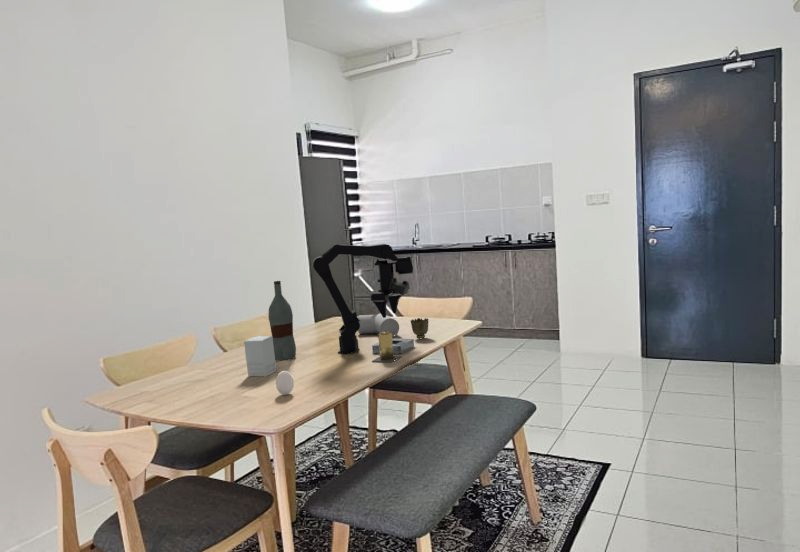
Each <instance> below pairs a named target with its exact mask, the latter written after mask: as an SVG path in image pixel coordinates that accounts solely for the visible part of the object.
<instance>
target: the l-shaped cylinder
mask: <svg viewBox="0 0 800 552" xmlns="http://www.w3.org/2000/svg"><path fill="white" fill-rule="evenodd" d="M357 317H358V318H359V320H360V321H359V323H360V328H359V330H358V331H357V332H358V334H360V335H368V334H369V335H370V334H371V335H372V334H373V333H377V334H380V332H384V331H389V333H392V336H394V335H396V336H397V335H398V333H399V330H400V323H399V322H398V321H397V320H396V319H395V318H393V317H390V316H389V315H387V314H386V318H383V317H382V315H381V313H380V312H379V313H378V314H363V315H361V314H359V315H357ZM394 337H395V336H394Z"/></svg>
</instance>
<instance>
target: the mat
mask: <svg viewBox="0 0 800 552" xmlns="http://www.w3.org/2000/svg"><path fill="white" fill-rule="evenodd" d="M393 356H394V358H393V359H391V360H381V359H380V356H378V357H376V358H375V359H372V360H371V363H384V362H393V361H394V360H396V359H398V358H399V359H401V358H403V357H402V355H393ZM400 357H401V358H400ZM399 359H398V360H399ZM396 361H397V360H396ZM394 362H395V361H394ZM394 362H393V363H394Z"/></svg>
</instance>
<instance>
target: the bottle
mask: <svg viewBox="0 0 800 552" xmlns="http://www.w3.org/2000/svg"><path fill="white" fill-rule="evenodd" d="M273 287H274V289H273V290H274V297H273V299H272V301H271V303H270V305H269V307H268V314H267V315H268V322H269V326H270V332H271V336H272V337H273V346H274V354H275V362H287V361H291V360H294V359H295V358H296V356H297V346H296V341H295V338H294V327H293V326H294V320H293V318H294V316H293V315H294V314H293V310H292V307H291V305H290V303H289V302H288V301H287V299H286V298H285V296H284V295H283V293H282V283H281V280H274V281H273Z"/></svg>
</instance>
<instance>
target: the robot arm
mask: <svg viewBox="0 0 800 552" xmlns="http://www.w3.org/2000/svg"><path fill="white" fill-rule="evenodd" d="M339 255H350V256H351V255H353V256H354V255H355V256H369V257H374V258H377V259H376V260H375V261H374V262H373V263H372V265H373V266H378V277H379V278H378V279H377V283H379V289H378V291H377V292H373V293H371V294H370V301H371V302H372V303H374V305H375V306H376V308H377V310H378V311H379V314H380V313H381V315H382V317H383V318H386V315H387V304H388V303H389V306H390V309H391V311H392V314H397V310H398V306H399V301H400V299H402V297H403V296H404V295H407V294H408V291H409V290H410V289H411V288H410V283H409V281H408V280H403V281H400V282H399V281H398V280H397V277H395V273H396V274H397V276H399V275H400V276H401V275H410V274H413V272H414V265H413V262H412V257H411V256H405V257H397V255H395V253H394V251H393V247H392V246H391V245H390V244H386V243H380V244H379V243H378V244H372V245H371V244H370V245H356V244H355V245H351V244H339V243H335V244H333V245H332V246H331V247H330V248H329V249H328V250H326V251H325V252H324V253H323V254H322V255H320V256H315V258H314V259H313V261H312V267H313V269H314V271H315V272H316V273H317V274H318V276H319V277H320V278H321V280H322V281H323V282H324V284H325V286H326V288H327V290H328V292H329V294H330V296H331V297H332V299H333V301H334V303H335V305H336V307H337V309H338V311H339V313H340V317H341V321H342V323H343V324H342V326H340V328H339V329H338V331H339V334H340V335H339V336H338V343H339V345H338V346H339V351H337V354H354V353H356V352H358V351H360V350H361V349H360V348H359V340H358V338H357V337H358V336H357V334H356V333H357V332H358V330H359V328H360V323H359V321H360V320H359V318H358V314H357V312H356V310H355V309H353V310H352V311H351V310H350V308H349V307H348V305H347V303H346V301H345V299H344V297H343V295H342V293H341V291H340V289H339V287H338V285H337V284H336V281H335V280H334V278H333V274H332V271H331V268H330V264H331V262H333V261H334V259H336V258H337V257H338V256H339ZM380 259H384V260H380ZM388 260H389V262H388Z"/></svg>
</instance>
